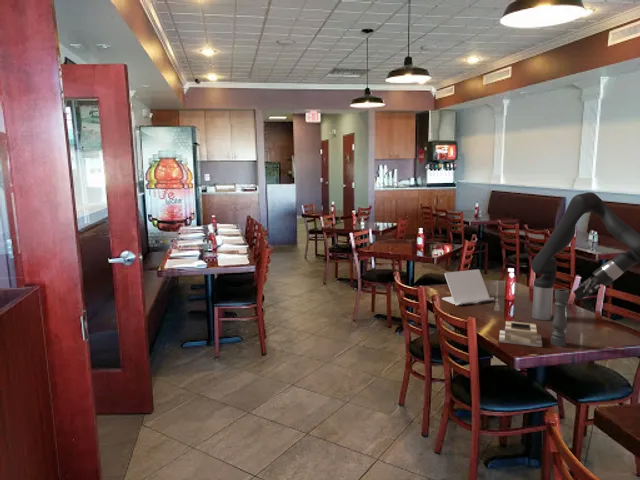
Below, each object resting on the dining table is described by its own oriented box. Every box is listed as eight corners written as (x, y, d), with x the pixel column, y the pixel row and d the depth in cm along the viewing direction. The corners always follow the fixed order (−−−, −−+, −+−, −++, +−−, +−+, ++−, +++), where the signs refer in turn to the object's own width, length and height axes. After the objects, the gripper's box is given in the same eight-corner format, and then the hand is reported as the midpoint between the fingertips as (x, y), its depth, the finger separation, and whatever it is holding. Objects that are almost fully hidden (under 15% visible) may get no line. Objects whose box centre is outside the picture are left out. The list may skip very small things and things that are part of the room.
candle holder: (561, 341, 219) (565, 288, 215) (568, 346, 213) (572, 292, 209) (548, 341, 219) (551, 288, 215) (555, 346, 213) (558, 292, 209)
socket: (499, 332, 232) (500, 320, 231) (540, 337, 225) (541, 324, 224) (498, 342, 219) (499, 329, 218) (542, 347, 213) (542, 333, 212)
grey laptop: (441, 299, 290) (442, 271, 287) (475, 294, 299) (476, 268, 296) (459, 307, 273) (461, 278, 271) (495, 302, 282) (496, 274, 279)
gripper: (598, 263, 212) (567, 286, 218) (604, 269, 199) (571, 294, 205) (611, 275, 211) (580, 298, 217) (617, 283, 198) (584, 307, 204)
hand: (575, 296), depth 211 cm, fingers open, 8 cm apart
